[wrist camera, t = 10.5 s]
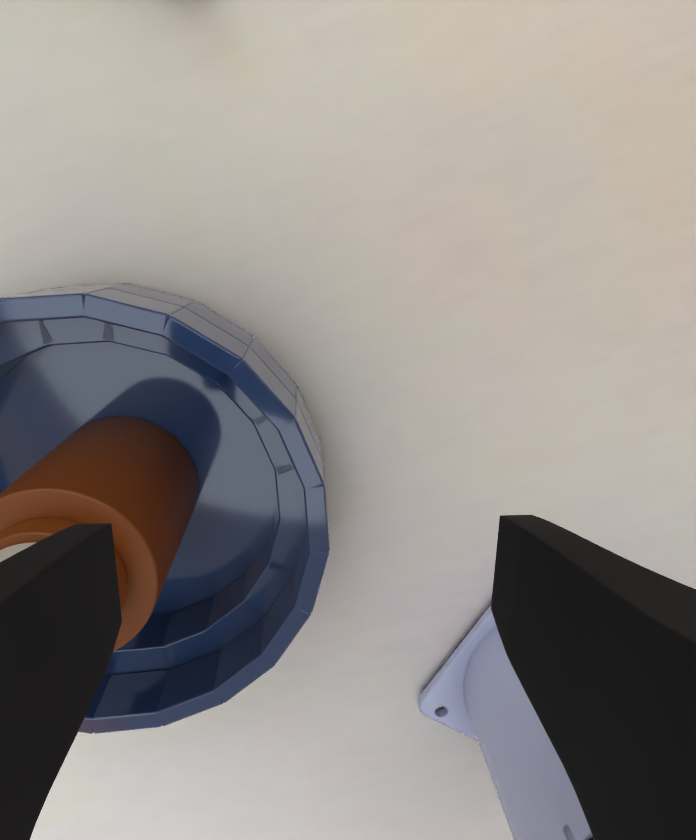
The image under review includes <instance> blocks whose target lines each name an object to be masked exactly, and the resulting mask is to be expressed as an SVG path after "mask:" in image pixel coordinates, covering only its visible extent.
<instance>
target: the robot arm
mask: <svg viewBox="0 0 696 840" xmlns="http://www.w3.org/2000/svg"><path fill="white" fill-rule="evenodd" d="M121 623H122V615H121V606H120V597H119V588H118V579H117V570H116V560H115V551H114V542H113V533H112V524H111V523H106V524H76V525H73V526H70V527H68V528H65V529H63V530H61V531H59V532H57V533H55V534H53V535H51V536H49V537H47V538H45V539H43V540H41V541H39V542H37V543H35V544H33V545H31V546H30V547H28V548H26V549H24V550H22V551H20V552H18V553H16V554H14V555H13V556H11V557H9V558H7V559H5V560H3V561H1V562H0V840H30V837H31V834H32V832H33V829H34V826H35V823H36V821H37V819H38V816H39V814H40V812H41V809H42V807H43V805H44V802H45V800H46V798H47V795H48V793H49V791H50V789H51V787H52V784H53V782H54V780H55V778H56V776H57V774H58V772H59V770H60V768H61V766H62V764H63V762H64V760H65V757H66V755H67V753H68V751H69V749H70V747H71V745H72V743H73V741H74V739H75V737H76V735H77V733H78V730H79V728H80V726H81V724H82V722H83V720H84V718H85V716H86V714H87V712H88V710H89V708H90V705H91V703H92V701H93V699H94V697H95V695H96V693H97V691H98V688H99V686H100V684H101V682H102V680H103V678H104V675H105V673H106V671H107V668H108V665H109V662H110V659H111V656H112V653H113V650H114V647H115V643H116V640H117V637H118V633H119V630H120V627H121ZM418 706H419V710H420V712H421V713H422V714H424V715H425V716H427V717H429V718H432V719H434V720H436V721H438V722H440V723H442V724H444V725H446V726H448V727H450V728H452V729H454V730H456V731H458V732H460V733H462V734H464V735H466V736H469V737H471V738H473V739H475V740H477V741H479V743H480V746H481V749H482V752H483V755H484V758H485V760H486V763H487V766H488V769H489V772H490V774H491V777H492V780H493V783H494V786H495V788H496V791H497V794H498V797H499V800H500V802H501V805H502V808H503V811H504V814H505V816H506V819H507V822H508V825H509V828H510V830H511V833H512V836H513V839H514V840H696V589H693V588H691V587H688V586H686V585H683V584H681V583H678V582H676V581H674V580H672V579H669V578H667V577H665V576H662V575H660V574H658V573H656V572H653V571H651V570H649V569H646V568H644V567H642V566H640V565H638V564H636V563H633V562H631V561H629V560H627V559H625V558H623V557H621V556H619V555H617V554H614V553H612V552H610V551H608V550H606V549H604V548H602V547H600V546H598V545H596V544H594V543H592V542H590V541H588V540H586V539H584V538H582V537H580V536H578V535H576V534H574V533H572V532H570V531H568V530H566V529H564V528H562V527H560V526H558V525H556V524H553V523H551V522H549V521H547V520H544V519H542V518H539V517H536V516H533V515H507V516H500V521H499V532H498V542H497V552H496V563H495V573H494V583H493V594H492V604H491V605H490V606H489V608H488V609H487V610H486V611H485V613H484V614H483V615H482V617H481V618H480V619H479V620H478V622H477V623H476V624H475V626H474V627H473V628H472V629H471V631H470V632H469V633H468V634H467V636H466V637H465V638H464V640H463V641H462V642H461V643H460V645H459V646H458V647H457V649H456V650H455V651H454V652H453V654H452V655H451V656H450V657H449V659H448V660H447V661H446V663H445V664H444V665H443V666H442V668H441V669H440V670H439V672H438V673H437V674H436V675H435V677H434V678H433V679H432V680H431V682H430V683H429V684H428V686H427V687H426V688H425V689H424V691H423V692H422V693H421V695H420V696H419V698H418ZM442 706H443V707H444V708H443V709H440V710H437V708H438V707H442Z"/></svg>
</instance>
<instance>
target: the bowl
mask: <svg viewBox="0 0 696 840" xmlns="http://www.w3.org/2000/svg"><path fill="white" fill-rule="evenodd" d="M109 417H131V418H136V419H141V420H144V421H147V422H150V423H152V424H154V425H157V426H159V427H161V428H162V429H164V430H165V431H167V432H168V433H170V434H171V435H172V436H173V437H175V438H176V439H177V440H178V441H179V442H180V443H181V445H182V446H183V447H184V448H185V450H186V451H187V452H188V454H189V456H190V458H191V460H192V462H193V464H194V467H195V469H196V473H197V478H198V497H197V502H196V505H195V508H194V511H193V513H192V516H191V518H190V521H189V523H188V525H187V528H186V530H185V533H184V535H183V538H182V540H181V543H180V545H179V548H178V550H177V553H176V555H175V558H174V560H173V562H172V565H171V567H170V570H169V572H168V575H167V577H166V580H165V582H164V585H163V587H162V590H161V592H160V595H159V597H158V599H157V602H156V604H155V607H154V609H153V612H152V614H151V616H150V617H149V619H148V621H147V623H146V624H145V625H144V627H143V628H142V629H141V631H140V632H139V633H138V634H137V635H136V636H135V637H134V638H133V639H131V640H130V641H129V642H127V643H126V644H125V645H124V646H122V647H120V648H119V649H117V650H115V651H113V653H112V656H111V659H110V662H109V665H108V668H107V671H106V673H105V675H104V678H103V680H102V682H101V684H100V686H99V688H98V691H97V693H96V695H95V697H94V699H93V701H92V703H91V705H90V708H89V710H88V712H87V714H86V716H85V718H84V720H83V722H82V724H81V726H80V728H79V730H78V732H84V733H90V734H91V733H93V732H94V733H105V732H115V731H125V730H135V729H144V728H154V727H161V726H165V725H168V724H170V723H173V722H176V721H178V720H181V719H184V718H186V717H189V716H192V715H194V714H197V713H199V712H202V711H205V710H207V709H210V708H213V707H215V706H218V705H221V704H223V702H224V703H225V702H227V701H228V700H229V699H231V698H232V697H233V696H235V695H236V694H237V693H239V692H240V691H241V690H243V689H244V688H245V687H247V686H248V685H249V684H251V683H252V682H253V681H255V680H256V679H257V678H259V677H260V676H261V675H263V674H264V673H265V672H267V671H268V670H269V669H271V668H272V667H273V666H274V665H275V664H276V663H277V662H278V660H279V659H280V657H281V656H282V655H283V653H284V652H285V650H286V649H287V647H288V646H289V645H290V643H291V642H292V640H293V639H294V637H295V636H296V635H297V633H298V632H299V630H300V629H301V628H302V626H303V625H304V623H305V622H306V620H307V619H308V618H309V616H310V615H311V612H312V611H313V608H314V604H315V601H316V597H317V594H318V590H319V587H320V583H321V580H322V576H323V573H324V569H325V565H326V562H327V558H328V555H329V535H328V521H327V507H326V493H325V481H324V470H323V460H322V450H321V442H320V438H319V436H318V433H317V431H316V429H315V426H314V424H313V422H312V419H311V417H310V415H309V412H308V410H307V408H306V405H305V403H304V401H303V398H302V396H301V393H300V391H299V389H298V387H297V386H296V385H295V383H294V381H293V380H292V379H291V378H290V377H289V376H288V375H287V373H286V372H285V371H284V370H283V369H282V368H281V367H280V365H279V364H278V363H277V362H276V361H275V360H274V359H273V357H272V356H271V355H270V354H269V353H268V352H267V351H266V349H265V348H264V347H263V346H262V345H261V344H260V343H259V341H258V340H257V339H256V338H253V335H251V334H250V333H248V332H246V331H245V330H243V329H242V328H240V327H238V326H237V325H235V324H233V323H232V322H230V321H228V320H227V319H225V318H224V317H222V316H220V315H219V314H217V313H215V312H214V311H212V310H210V309H209V308H207V307H206V306H204V305H202V304H201V303H199V302H197V301H195V300H192V299H188V298H184V297H180V296H176V295H172V294H168V293H164V292H160V291H157V290H153V289H149V288H145V287H141V286H137V285H133V284H126V283H121V284H105V285H88V286H71V287H58V288H52V289H47V290H41V291H35V292H30V293H25V294H19V295H13V296H8V297H2V298H0V493H1V492H2V491H4V490H5V489H6V488H7V487H8V486H10V485H11V484H12V483H13V482H14V481H16V480H17V479H18V478H19V477H20V476H22V475H23V474H24V473H25V472H27V471H28V470H29V469H30V468H31V467H33V466H34V465H35V464H36V463H37V462H39V461H40V460H41V459H42V458H43V457H45V456H46V455H47V454H48V453H50V452H51V451H52V450H53V449H54V448H56V447H57V446H58V445H59V444H60V443H62V442H63V441H64V440H65V439H66V438H68V437H69V436H70V435H71V434H73V433H74V432H75V431H76V430H78V429H79V428H81V427H82V426H84V425H86V424H88V423H91V422H93V421H96V420H99V419H103V418H109Z"/></svg>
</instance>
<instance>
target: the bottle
mask: <svg viewBox="0 0 696 840" xmlns="http://www.w3.org/2000/svg"><path fill="white" fill-rule="evenodd" d="M197 497H198V478H197V473H196V469H195V467H194V464H193V462H192V460H191V458H190V456H189V454H188V452H187V451H186V450H185V448H184V447H183V446H182V445H181V443H180V442H179V441H178V440H177V439H176V438H175V437H173V436H172V435H171V434H170V433H168V432H167V431H165V430H164V429H162V428H161V427H159V426H157V425H154V424H152V423H150V422H147V421H144V420H141V419H136V418H131V417H109V418H103V419H99V420H96V421H93V422H91V423H88V424H86V425H84V426H82V427H81V428H79V429H78V430H76V431H75V432H74V433H73V434H71V435H70V436H69V437H68V438H66V439H65V440H64V441H63V442H62V443H60V444H59V445H58V446H57V447H56V448H54V449H53V450H52V451H51V452H50V453H48V454H47V455H46V456H45V457H43V458H42V459H41V460H40V461H39V462H37V463H36V464H35V465H34V466H33V467H31V468H30V469H29V470H28V471H27V472H25V473H24V474H23V475H22V476H20V477H19V478H18V479H17V480H16V481H14V482H13V483H12V484H11V485H10V486H8V487H7V488H6V489H5V490H4V491H2V492H1V493H0V562H1V561H3V560H5V559H7V558H9V557H11V556H13V555H14V554H16V553H18V552H20V551H22V550H24V549H26V548H28V547H30V546H31V545H33V544H35V543H37V542H39V541H41V540H43V539H45V538H47V537H49V536H51V535H53V534H55V533H57V532H59V531H61V530H63V529H65V528H68V527H70V526H73V525H76V524H106V523H111V524H112V533H113V542H114V551H115V560H116V570H117V579H118V588H119V597H120V606H121V615H122V623H121V627H120V630H119V633H118V637H117V640H116V643H115V647H114V650H113V651H115V650H117V649H119V648H120V647H122V646H124V645H125V644H126V643H127V642H129V641H130V640H131V639H133V638H134V637H135V636H136V635H137V634H138V633H139V632H140V631H141V629H142V628H143V627H144V625H145V624H146V623H147V621H148V619H149V617H150V616H151V614H152V612H153V609H154V607H155V604H156V602H157V599H158V597H159V595H160V592H161V590H162V587H163V585H164V582H165V580H166V577H167V575H168V572H169V570H170V567H171V565H172V562H173V560H174V558H175V555H176V553H177V550H178V548H179V545H180V543H181V540H182V538H183V535H184V533H185V530H186V528H187V525H188V523H189V521H190V518H191V516H192V513H193V511H194V508H195V505H196V502H197Z"/></svg>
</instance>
